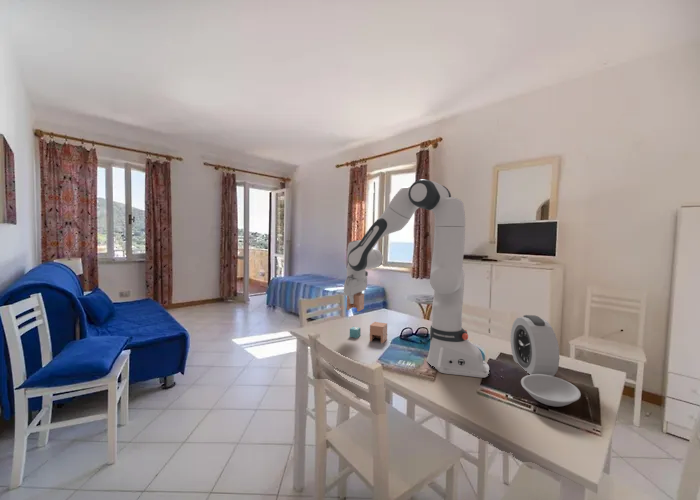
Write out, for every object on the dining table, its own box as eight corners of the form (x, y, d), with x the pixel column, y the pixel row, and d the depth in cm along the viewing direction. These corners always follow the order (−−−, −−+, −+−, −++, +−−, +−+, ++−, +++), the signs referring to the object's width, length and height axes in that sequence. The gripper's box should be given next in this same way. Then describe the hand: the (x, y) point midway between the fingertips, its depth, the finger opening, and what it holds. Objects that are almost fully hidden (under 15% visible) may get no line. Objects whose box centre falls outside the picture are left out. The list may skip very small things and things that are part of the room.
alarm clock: (509, 356, 120) (511, 308, 119) (529, 357, 119) (530, 309, 118) (535, 381, 99) (537, 324, 98) (558, 383, 98) (561, 325, 97)
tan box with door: (363, 308, 143) (364, 293, 143) (358, 311, 138) (359, 295, 137) (352, 307, 146) (352, 292, 146) (346, 309, 140) (346, 294, 140)
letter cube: (360, 335, 144) (360, 327, 143) (357, 338, 140) (357, 329, 140) (353, 334, 145) (353, 326, 145) (349, 336, 142) (349, 328, 141)
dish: (573, 427, 75) (574, 409, 74) (512, 404, 85) (513, 387, 85) (584, 401, 87) (585, 385, 87) (529, 383, 97) (530, 369, 97)
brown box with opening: (386, 338, 139) (387, 323, 139) (382, 343, 133) (383, 327, 133) (374, 336, 142) (374, 321, 141) (369, 341, 136) (369, 325, 136)
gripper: (353, 276, 130) (352, 307, 131) (369, 272, 149) (368, 298, 150) (340, 275, 133) (340, 305, 134) (357, 271, 152) (357, 297, 152)
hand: (355, 301), depth 142 cm, fingers closed on tan box with door, 6 cm apart
